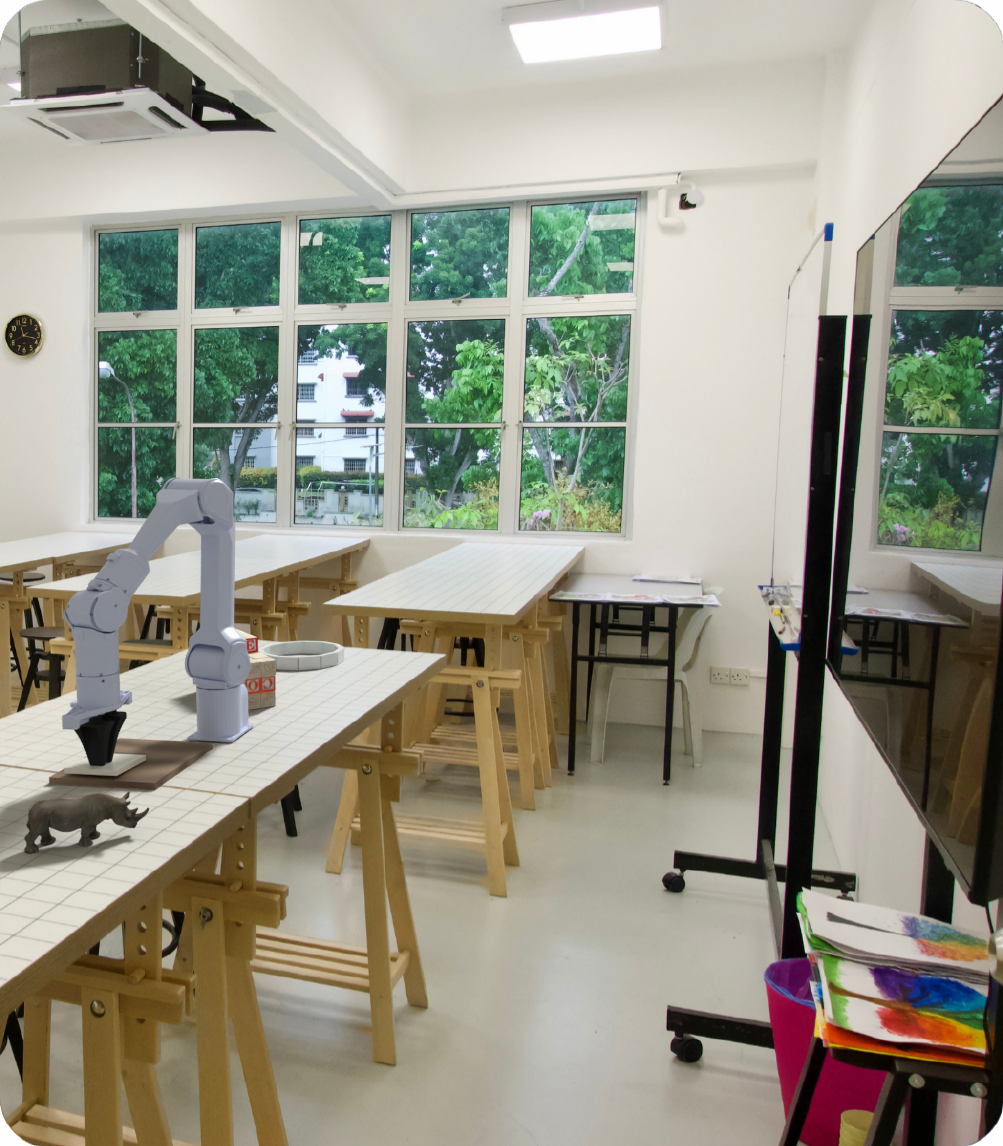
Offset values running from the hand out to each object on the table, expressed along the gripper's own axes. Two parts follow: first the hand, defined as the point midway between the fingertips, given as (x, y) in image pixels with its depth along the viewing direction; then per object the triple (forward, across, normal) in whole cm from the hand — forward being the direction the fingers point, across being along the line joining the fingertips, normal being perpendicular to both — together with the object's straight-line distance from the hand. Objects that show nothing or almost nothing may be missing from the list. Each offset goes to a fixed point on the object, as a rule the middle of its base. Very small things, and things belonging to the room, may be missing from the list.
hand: (101, 763), depth 124 cm
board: (+2, -6, +2) cm, 7 cm away
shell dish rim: (+2, -81, +2) cm, 81 cm away
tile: (0, -1, 0) cm, 1 cm away
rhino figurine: (+2, +20, +11) cm, 23 cm away
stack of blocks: (+2, -47, +1) cm, 47 cm away
